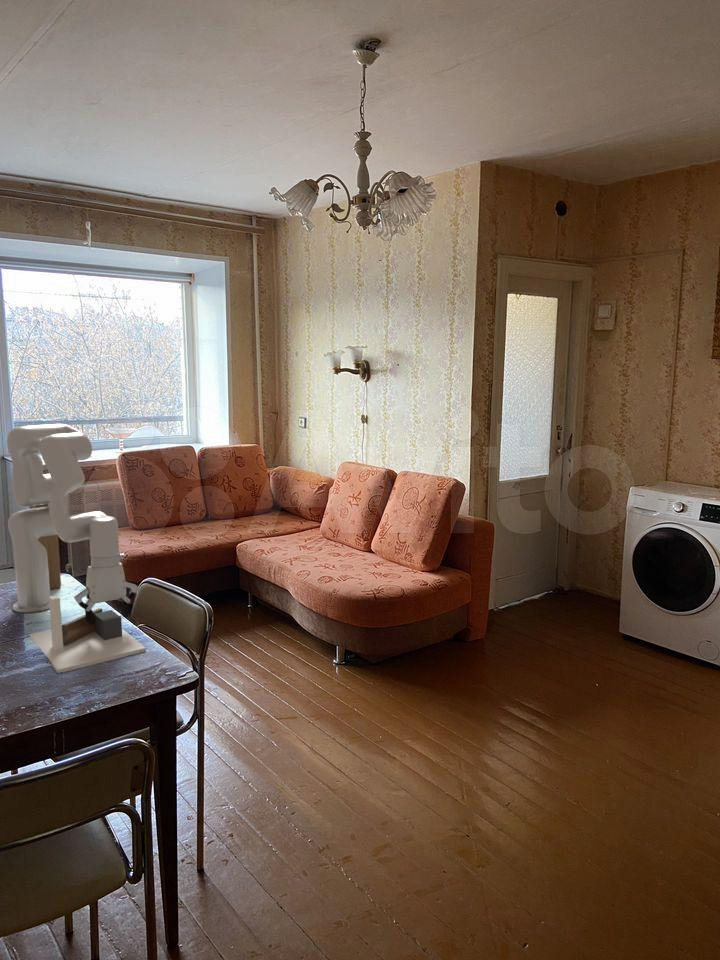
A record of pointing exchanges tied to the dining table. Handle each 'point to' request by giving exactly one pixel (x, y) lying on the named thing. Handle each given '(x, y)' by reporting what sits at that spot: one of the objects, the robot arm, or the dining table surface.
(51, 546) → the wooden block
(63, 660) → the cream base with post
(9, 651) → the dining table surface
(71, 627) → the wooden slat
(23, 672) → the dining table surface
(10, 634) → the dining table surface
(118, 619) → the block
